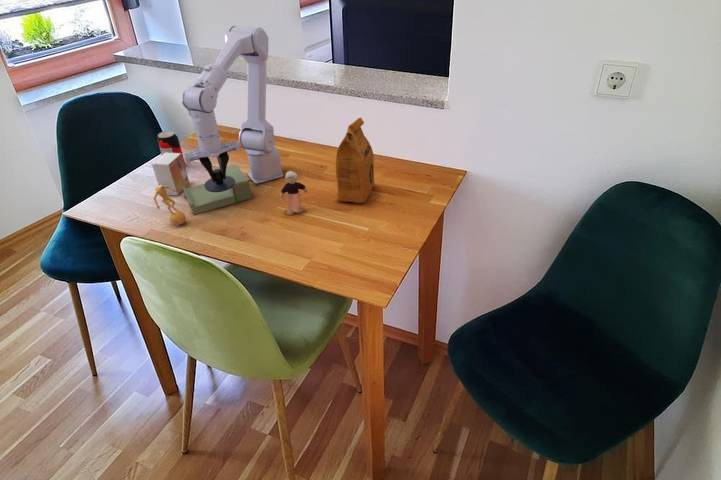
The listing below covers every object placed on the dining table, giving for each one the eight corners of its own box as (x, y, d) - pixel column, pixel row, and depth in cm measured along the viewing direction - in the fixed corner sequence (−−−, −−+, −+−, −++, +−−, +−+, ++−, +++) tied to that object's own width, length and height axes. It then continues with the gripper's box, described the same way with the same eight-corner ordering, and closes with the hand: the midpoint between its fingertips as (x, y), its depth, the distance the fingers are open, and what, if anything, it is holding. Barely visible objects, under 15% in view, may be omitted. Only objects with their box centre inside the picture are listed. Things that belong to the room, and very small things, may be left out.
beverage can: (189, 165, 161) (180, 132, 154) (174, 173, 157) (164, 139, 150) (177, 161, 164) (167, 128, 157) (162, 169, 159) (151, 135, 152)
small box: (177, 196, 145) (168, 164, 138) (161, 195, 146) (150, 163, 139) (190, 183, 151) (181, 152, 145) (174, 182, 152) (165, 151, 146)
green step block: (239, 181, 151) (236, 164, 147) (251, 198, 142) (248, 180, 139) (185, 196, 145) (180, 178, 141) (194, 214, 136) (189, 196, 132)
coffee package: (380, 186, 145) (378, 117, 132) (365, 207, 135) (362, 135, 122) (349, 182, 148) (345, 113, 135) (333, 202, 138) (327, 130, 126)
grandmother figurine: (286, 218, 132) (279, 178, 125) (281, 212, 135) (274, 172, 128) (311, 210, 135) (307, 170, 128) (306, 204, 138) (301, 165, 131)
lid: (230, 174, 138) (227, 160, 136) (239, 187, 132) (236, 172, 130) (201, 182, 135) (197, 168, 132) (209, 195, 129) (205, 181, 126)
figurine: (176, 233, 129) (163, 194, 121) (157, 230, 130) (144, 191, 123) (194, 217, 135) (183, 179, 128) (176, 214, 137) (164, 176, 129)
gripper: (182, 145, 119) (195, 192, 127) (239, 132, 124) (248, 178, 133) (176, 135, 124) (189, 181, 132) (231, 123, 130) (240, 168, 138)
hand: (218, 179), depth 133 cm, fingers closed on lid, 2 cm apart
